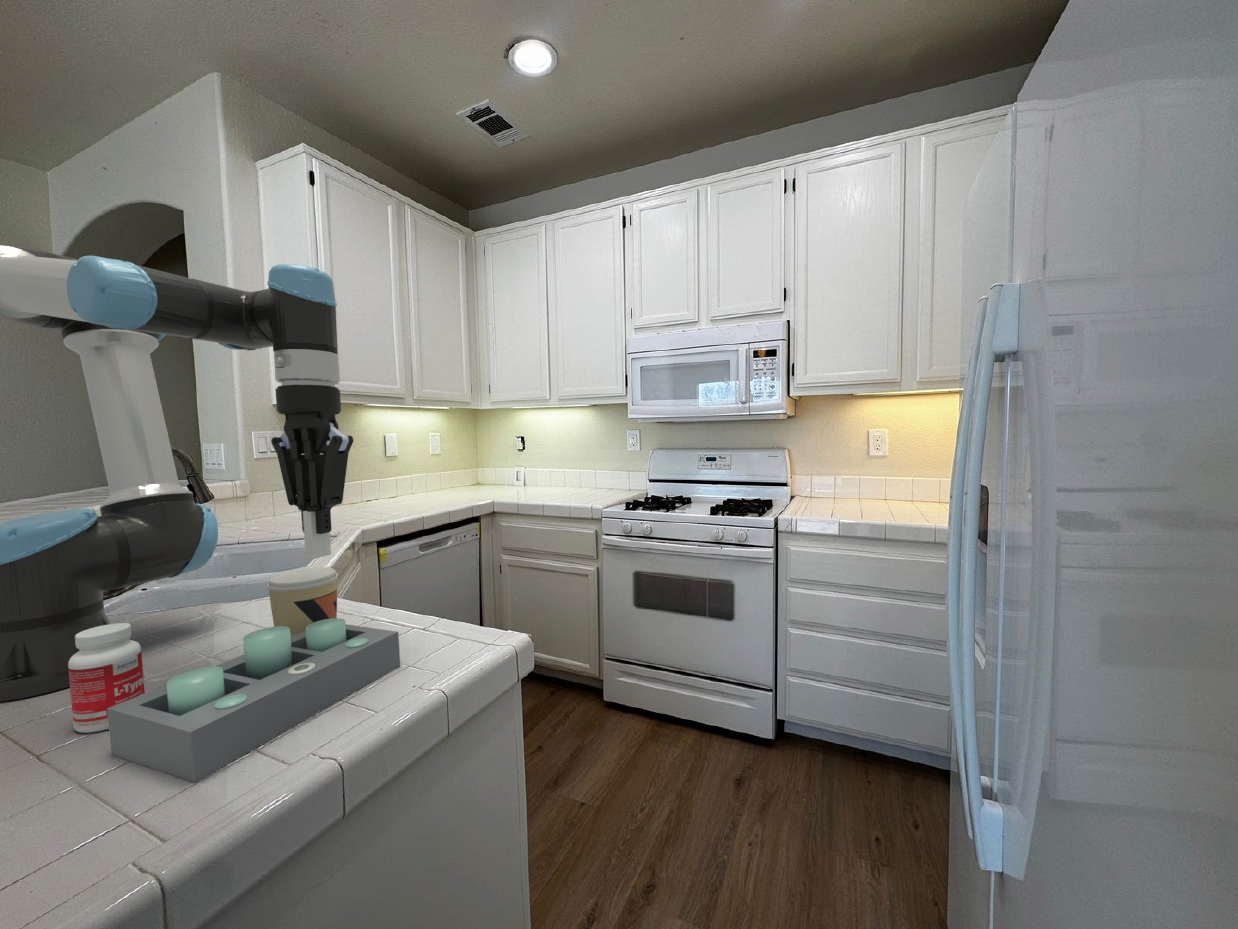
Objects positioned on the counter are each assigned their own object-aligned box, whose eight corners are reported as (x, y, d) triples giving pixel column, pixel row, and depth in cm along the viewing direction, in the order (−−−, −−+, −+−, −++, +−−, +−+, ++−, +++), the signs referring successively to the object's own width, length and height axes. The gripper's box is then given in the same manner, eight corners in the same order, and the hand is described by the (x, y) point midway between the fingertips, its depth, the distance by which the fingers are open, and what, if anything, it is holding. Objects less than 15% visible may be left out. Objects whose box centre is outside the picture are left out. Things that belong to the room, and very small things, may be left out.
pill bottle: (123, 730, 59) (114, 636, 58) (58, 739, 57) (49, 642, 57) (158, 703, 65) (151, 617, 64) (100, 710, 63) (92, 623, 63)
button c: (299, 664, 70) (297, 628, 70) (330, 650, 74) (328, 616, 74) (324, 669, 68) (322, 632, 68) (355, 654, 73) (353, 620, 72)
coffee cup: (308, 665, 74) (302, 585, 73) (257, 660, 76) (251, 582, 76) (355, 640, 83) (351, 567, 82) (308, 636, 85) (303, 565, 85)
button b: (236, 678, 62) (233, 638, 62) (275, 662, 67) (273, 624, 66) (263, 684, 61) (260, 643, 60) (301, 666, 65) (298, 628, 65)
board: (111, 754, 54) (107, 706, 54) (329, 653, 78) (327, 620, 78) (194, 782, 49) (190, 730, 49) (400, 665, 73) (398, 630, 73)
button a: (159, 728, 55) (155, 683, 55) (209, 705, 59) (205, 664, 59) (187, 736, 53) (183, 689, 53) (236, 712, 58) (232, 669, 57)
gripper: (247, 385, 68) (259, 559, 69) (317, 380, 63) (328, 566, 65) (300, 390, 75) (310, 547, 76) (367, 385, 70) (375, 553, 72)
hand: (318, 556), depth 71 cm, fingers closed
